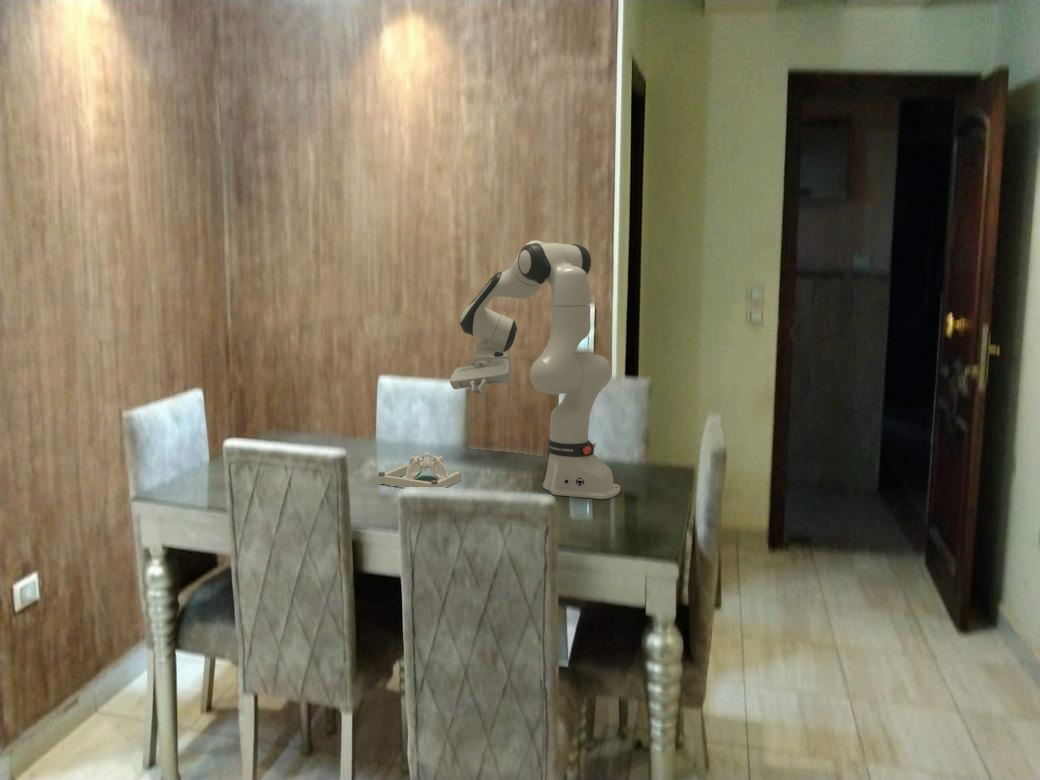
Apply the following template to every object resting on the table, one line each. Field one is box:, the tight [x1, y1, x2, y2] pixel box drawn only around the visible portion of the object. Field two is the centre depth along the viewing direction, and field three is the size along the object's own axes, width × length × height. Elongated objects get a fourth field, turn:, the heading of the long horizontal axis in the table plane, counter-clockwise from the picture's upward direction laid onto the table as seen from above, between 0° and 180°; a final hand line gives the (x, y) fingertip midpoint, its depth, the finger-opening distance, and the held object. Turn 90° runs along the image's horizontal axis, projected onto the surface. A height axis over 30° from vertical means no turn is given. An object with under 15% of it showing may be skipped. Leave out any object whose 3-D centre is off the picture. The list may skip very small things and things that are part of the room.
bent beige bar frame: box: [377, 463, 462, 489], centre depth 265 cm, size 19×16×3 cm
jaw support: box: [405, 451, 449, 481], centre depth 267 cm, size 12×9×10 cm
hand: (476, 391), depth 282 cm, fingers closed
